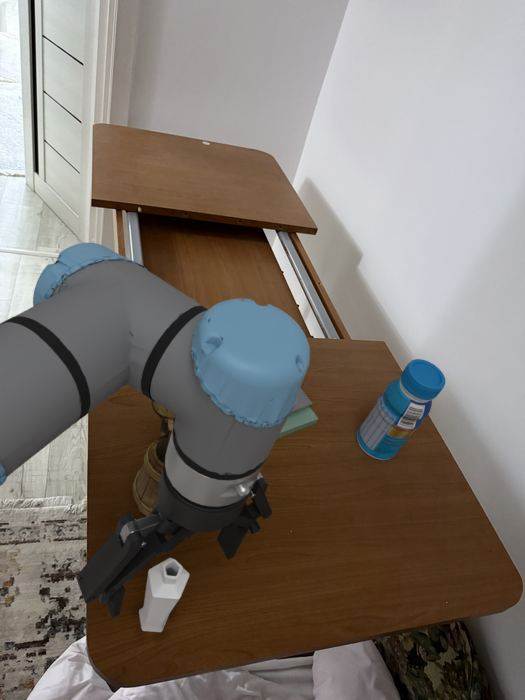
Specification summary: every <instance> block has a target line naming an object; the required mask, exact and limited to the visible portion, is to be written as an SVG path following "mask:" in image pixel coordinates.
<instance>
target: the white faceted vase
mask: <svg viewBox="0 0 525 700" xmlns="http://www.w3.org/2000/svg"><path fill="white" fill-rule="evenodd" d="M189 578H190V573H189V572H188V571H187V570H186V569H185V568H184V567H183V565H182V564H181V563H179V561H178V560H176V559H175V558H173V557H168V558H166V559H165V560H163V561H161V562H160V563H158V564H157V565H154V566H153V567H152V568H149V569H148V571H147V579H146V585H145V593H144V600H143V606H142V607H141V608H139V610H138V614H139V622H140V629H141V631H143V632H152V633H162V632H163V630H164V629H165V626H166V623H167V621H168V619H169V616H170V614H171V612H172V611H173V609H174V608H175V606H176V605H177V603H178V602H179V601H180V599H181V597H182V595H183V592H184V591H185V588H186V585H187V583H188V580H189Z"/></svg>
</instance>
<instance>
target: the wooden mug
mask: <svg viewBox="0 0 525 700" xmlns="http://www.w3.org/2000/svg"><path fill="white" fill-rule="evenodd" d="M151 407H152V410H153V411H154V413H155V414H156V415H157V416H158V417H159V419H161V421H160V428H159V429H160V430H159V433H161V434H160V436H159V437H158V438H156V439H155V440H154V441H153V442H152V443H151V444H150V445H149V447H148V448H147V450H146V452H145V454H144V455H143V456H144V457H143V465H142V467H141V468H140V469H139V470H138V471H137V473H136V476H135V477H134V481H133V483H132V486H131V487H132V495H133V500H134V503H135V504H136V507H137V509H138V510H139V512H141V514H142V515H145V517H147V516H150V514H151V511H152V509H153V508H154V507H155V506H156V505H157V504H158V489H159V481H160V477H161V473H162V469H163V465H164V462H165V455H166V451H167V447H168V444H169V440H170V437H171V433H172V429H173V426H174V422H175V414H173V413H172V412H171V411H169V410H168V409H166V408H165V407H163V406H162V405H160V404H159V403H157V402H155V401H152V400H151Z"/></svg>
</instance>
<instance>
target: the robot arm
mask: <svg viewBox="0 0 525 700" xmlns="http://www.w3.org/2000/svg"><path fill="white" fill-rule="evenodd" d="M32 305H33V306H32V307H30V308H28V309H26V310H24V311H22V312H20V313H18V314H16V315H14V316H11V317H10V318H8V319H6V320H4V321H2V322H0V487H1V486H2V485H4V484H5V483H6V482H7V479H8V477H9V476H11V474H13V473H14V472H15V471H16V470H18V469H19V468H20V467H21V466H23V465H24V464H26V463H27V462H28V461H29V460H30V459H32V458H33V457H34V456H36V455H37V454H38V453H39V452H40V451H42V450H43V449H44V448H45V447H47V446H48V445H49V444H51V443H52V442H53V441H54V440H56V439H57V438H58V437H59V436H61V435H62V434H63V433H65V432H67V430H69V429H70V428H71V427H72V426H74V425H75V424H76V423H78V422H79V421H80V420H82V419H83V418H85V416H87V415H88V414H89V413H91V412H92V411H94V410H95V409H96V408H98V406H100V405H102V404H103V403H104V402H106V401H107V400H108V399H109V398H111V397H112V396H113V395H114V394H115V393H117V392H118V391H119V390H121V389H123V387H125V386H126V385H127V386H129V387H130V388H132V389H134V391H137V392H139V393H140V394H142V395H143V396H144V397H146V398H148V399H150V400H151V402H152V401H155V402H157V403H159V404H160V405H162V406H163V407H165V408H166V409H168V410H169V411H171V412H172V413H173V414H175V422H174V426H173V429H172V433H171V437H170V440H169V444H168V447H167V451H166V455H165V462H164V465H163V469H162V473H161V477H160V481H159V489H158V504H157V505H156V506H155V507H154V508H153V509H152V511H151V514H150V516H144V517H141V518H139V519H137V518H135V516H134V514H133V513H132V512H128V513H125V514H124V515H123V514H122V515H121V516H120V518H118V520H117V524H116V527H115V529H114V531H112V533H111V534H110V535H109V537H108V538H107V539H106V540H105V542H104V543H103V544H102V545H101V546H100V547H99V549H98V550H97V551H96V552H95V553H94V554H93V555H92V557H91V558H90V559H89V560H88V561H87V562H86V564H85V565H84V566H83V567H82V569H81V570H80V571H79V572H78V573H77V574H76V576H75V579H76V581H77V585H78V588H79V590H80V593H81V596H82V598H83V601H84V604H91V603H93V602H94V601H96V600H97V599H98V600H99V603H100V605H102V606H104V605H105V604H106V606H107V609H108V611H109V614H110V616H111V618H112V619H114V618H116V617H119V616H120V615H121V610H122V605H123V601H124V597H125V592H126V589H125V584H127V583H128V582H129V581H130V580H131V579H133V577H135V576H136V575H137V574H138V573H139V572H140V571H142V570H143V569H144V568H145V567H146V566H147V565H149V564H150V563H151V562H152V561H154V559H155V558H157V557H158V556H160V554H169V553H170V552H172V551H173V550H174V549H175V548H177V547H178V546H179V545H180V544H181V543H183V542H184V541H185V540H186V539H191V538H192V537H193V536H195V535H196V534H197V533H211V532H216V531H219V530H220V531H219V534H218V536H217V538H216V540H217V542H218V544H219V546H220V548H221V550H222V552H223V554H224V555H225V557H226V559H227V560H228V561H229V560H231V559H232V558H234V557H235V555H236V553H237V551H238V550H239V548H240V545H242V542H243V540H244V538H245V536H246V535H247V534H248V532H250V534H251V535H254V534H256V533H259V532H260V531H261V530H262V529H261V528H262V527H261V526H260V524H259V522H258V521H257V519H259V518H260V517H261V518H262V519H263V520H264V519H268V518H270V517H271V516H272V514H273V510H272V508H271V506H270V503H269V500H268V498H267V495H266V491H267V489H268V486H269V483H268V482H267V481H266V480H265V477H264V476H263V474H262V473H261V470H262V468H263V466H264V464H265V462H266V461H267V459H268V457H269V455H270V453H271V451H272V449H273V447H274V445H275V443H276V442H277V440H278V438H277V437H278V436H279V434H280V432H281V430H282V428H283V426H284V424H285V422H286V420H287V418H288V416H289V414H290V413H291V411H292V409H293V408H294V406H295V405H296V403H297V398H298V394H299V390H300V388H302V384H303V382H304V379H305V377H306V374H307V371H308V369H309V366H310V360H311V348H310V344H309V340H308V338H307V336H306V334H305V332H304V330H303V329H302V327H301V326H300V324H298V322H297V321H296V320H295V319H294V318H293V317H292V316H290V315H289V314H288V313H286V312H285V311H284V310H282V309H280V308H279V307H276V306H274V305H273V304H271V303H268V304H265V305H261V304H258V303H257V302H256V301H254V300H253V299H251V298H239V297H238V298H231V299H226V300H223V301H220V302H218V303H215V304H214V305H212V306H211V307H210V308H207V307H205V306H204V305H202V304H201V303H199V302H198V301H196V300H195V299H193V298H192V297H189V296H188V295H186V294H185V293H184V292H182V291H180V290H179V289H178V288H176V287H174V286H173V285H171V284H170V283H168V282H166V281H165V280H163V279H162V278H160V277H159V276H158V275H155V274H154V273H152V272H151V271H149V270H148V269H147V268H146V267H145V266H144V265H142V264H141V263H140V262H139V261H136V260H132V259H130V258H128V257H126V256H124V255H122V254H120V253H117V252H115V251H114V250H112V249H110V248H108V246H105V245H103V244H101V243H100V244H99V243H96V242H79V243H76V244H73V245H71V246H68V247H67V248H65V249H63V250H61V252H59V254H58V257H57V258H56V260H55V262H53V263H50V264H47V265H46V266H45V267H44V268H43V270H42V271H41V273H40V274H39V277H38V279H37V281H36V284H35V286H34V291H33V296H32ZM249 497H250V499H251V501H252V502H250V503H249V504H247V500H248V499H249ZM167 536H168V537H169V539H167Z"/></svg>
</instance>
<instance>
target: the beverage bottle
mask: <svg viewBox="0 0 525 700" xmlns="http://www.w3.org/2000/svg"><path fill="white" fill-rule="evenodd" d="M445 386H446V377H445V375H444V373H443V371H442V370H441V369H440V368H439V367H438V366H437V365H436V364H434V363H432V362H430V361H428V360H425V359H421V358H416V359H411V360H410V361H409V362H408V363H407V365H406V366H405V367H404V369H403V370H402V372H401V374H400V377H399V378H396V379H394V380H393V381H391V382H389V383H388V385H387V386H386V388H385V390H384V391H382V392H381V393H380V395H379V396H378V398H377V401H376V403H375V404H374V406H373V408H372V409H371V410H370V412H369V413H368V415H367V416H366V418H365V419H364V421H363V422H362V424H361V425H359V427H358V429H357V431H356V441H357V444H358V446H359V447H360V449H361V450H362V451H363V452H364V453H365V454H366V455H367V456H368V457H371V458H372V459H375V460H379V461H388V460H391V459H393V458H394V457H395V456H396V455H397V453H398V452H399V451H400V450H401V448H402V447H403V445H405V443H406V442H407V441H408V440H409V438H410V437H411V436H412V435H413V433H414V432H415V431H416V430H417V429H418V428H420V426H421V425H423V423H424V420H425V418H426V417H428V415H429V414H430V413H431V410H432V405H433V400H435V399H436V398H437V397H438V396H439V394H440V393H441V392H442V390H443V389H444V388H445Z"/></svg>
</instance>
